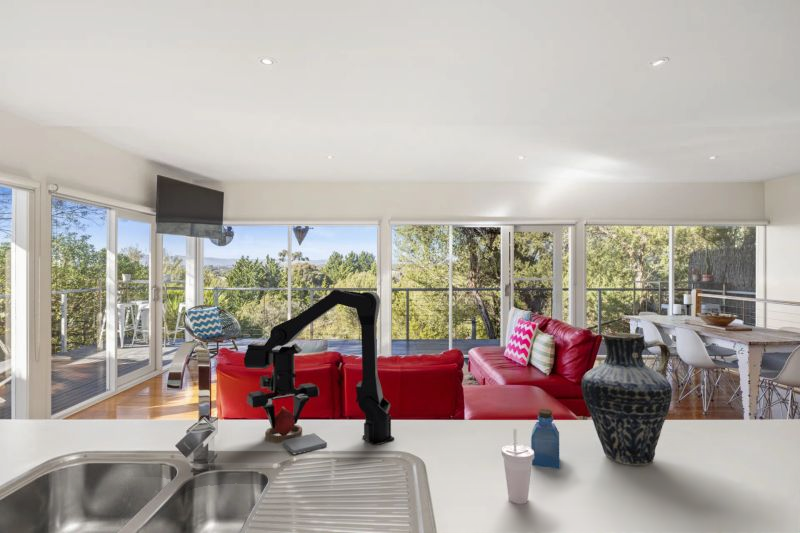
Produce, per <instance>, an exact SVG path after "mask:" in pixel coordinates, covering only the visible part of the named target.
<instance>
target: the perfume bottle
mask: <svg viewBox="0 0 800 533" xmlns="http://www.w3.org/2000/svg"><path fill="white" fill-rule="evenodd" d="M552 414H553V411H552V410H551V409H547V408H542V409H538V414H537V421H536V423H535V424H534V427H533V428H532V431H531V436H530V443H531V444H530V448H531V449H532V450H533V451H534V459H533V460H532V466H535V467H543V468H550V469H557V470H560V432H559V430H558V428H557V426H556V424H555V423H554V416H553V415H552Z"/></svg>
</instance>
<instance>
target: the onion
mask: <svg viewBox="0 0 800 533" xmlns="http://www.w3.org/2000/svg"><path fill="white" fill-rule="evenodd" d="M295 425H296V424H295V419H294V417H293V413H291V411H290V410H288V409H286V408H285V406H281V410H280V411H278V412H277V414H275V426H274V429H275V430H276V431H277V432H276V433H277V434H279V436H283V435H289V433H291V432H292V431H291V430H292V429H293V428H294V426H295Z"/></svg>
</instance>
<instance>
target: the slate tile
mask: <svg viewBox="0 0 800 533" xmlns="http://www.w3.org/2000/svg"><path fill="white" fill-rule="evenodd" d="M282 446H284V447H285V448H286V449H287V450H288V451H289V452H290V451H291V452H292V453H291V452H290V453H291V454H293V453H298V454H300V453H299V452H302V453H305V452H304V451H306V452H309V450H310V451H314V450H317V449H323V448H325V447H328V442H327V441H325V440H324V439H323V438H321V437H320V436H319V435H317V434H315V433H310V434H306V435H302V436H300V437H296V438H291V439H287V440H283V441H282Z"/></svg>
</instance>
